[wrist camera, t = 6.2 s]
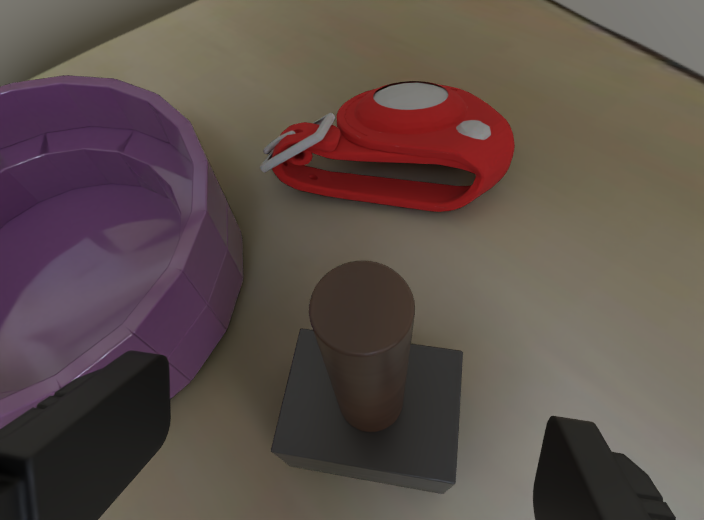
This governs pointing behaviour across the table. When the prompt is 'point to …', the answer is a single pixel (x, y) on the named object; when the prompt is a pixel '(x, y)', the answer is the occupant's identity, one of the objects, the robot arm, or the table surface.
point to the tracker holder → (398, 146)
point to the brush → (370, 387)
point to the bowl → (106, 237)
